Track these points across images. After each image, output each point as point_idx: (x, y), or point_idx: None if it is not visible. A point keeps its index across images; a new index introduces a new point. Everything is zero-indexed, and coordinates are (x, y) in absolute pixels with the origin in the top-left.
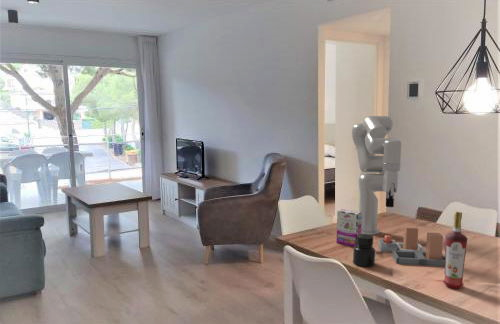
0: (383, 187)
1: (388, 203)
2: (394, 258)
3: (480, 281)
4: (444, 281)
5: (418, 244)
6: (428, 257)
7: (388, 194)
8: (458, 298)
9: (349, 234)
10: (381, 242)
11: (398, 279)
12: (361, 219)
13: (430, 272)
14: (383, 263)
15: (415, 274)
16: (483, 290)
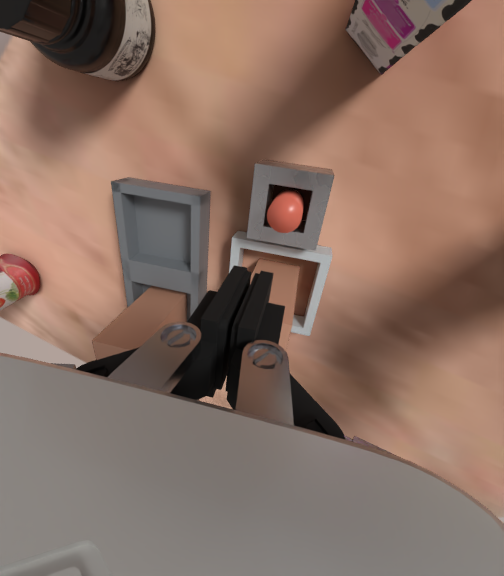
0: (260, 513)
1: (206, 297)
2: (164, 185)
3: (80, 340)
4: (7, 256)
5: (300, 329)
6: (150, 294)
7: (117, 374)
8: None
9: None
10: (269, 169)
11: (6, 136)
12: (432, 10)
13: (99, 261)
14: (137, 129)
15: (68, 211)
16: (32, 319)
